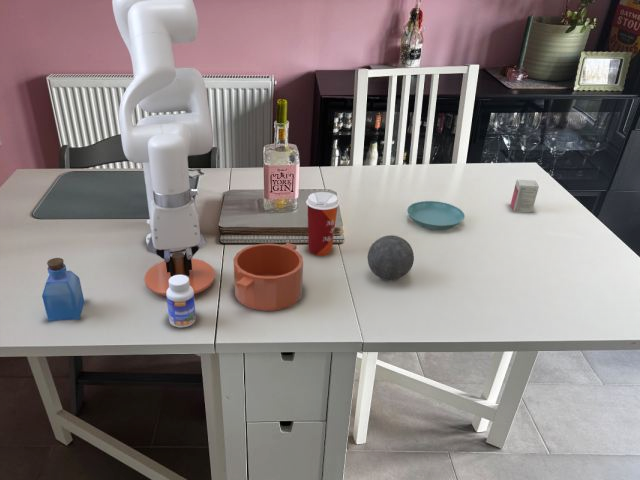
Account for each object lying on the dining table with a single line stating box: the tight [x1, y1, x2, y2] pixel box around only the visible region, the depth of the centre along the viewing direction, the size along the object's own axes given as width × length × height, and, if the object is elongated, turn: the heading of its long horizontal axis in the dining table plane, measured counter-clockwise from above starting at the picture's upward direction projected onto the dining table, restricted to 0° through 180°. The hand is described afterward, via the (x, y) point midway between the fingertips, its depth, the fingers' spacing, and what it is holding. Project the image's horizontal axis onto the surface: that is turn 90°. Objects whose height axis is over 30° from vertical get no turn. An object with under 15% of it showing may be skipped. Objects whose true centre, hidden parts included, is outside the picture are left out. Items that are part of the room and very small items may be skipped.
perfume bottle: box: [41, 257, 85, 322], centre depth 115 cm, size 6×6×12 cm
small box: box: [509, 179, 540, 213], centre depth 156 cm, size 5×4×8 cm
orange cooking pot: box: [233, 242, 304, 312], centre depth 122 cm, size 15×20×8 cm
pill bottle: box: [166, 275, 197, 328], centre depth 113 cm, size 5×5×10 cm
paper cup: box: [305, 191, 340, 257], centre depth 136 cm, size 8×8×14 cm
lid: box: [143, 251, 216, 297], centre depth 125 cm, size 16×16×6 cm
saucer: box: [406, 200, 466, 231], centre depth 151 cm, size 15×15×3 cm
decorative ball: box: [367, 234, 415, 281], centre depth 126 cm, size 10×10×10 cm
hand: (179, 272), depth 126 cm, fingers closed on lid, 2 cm apart
